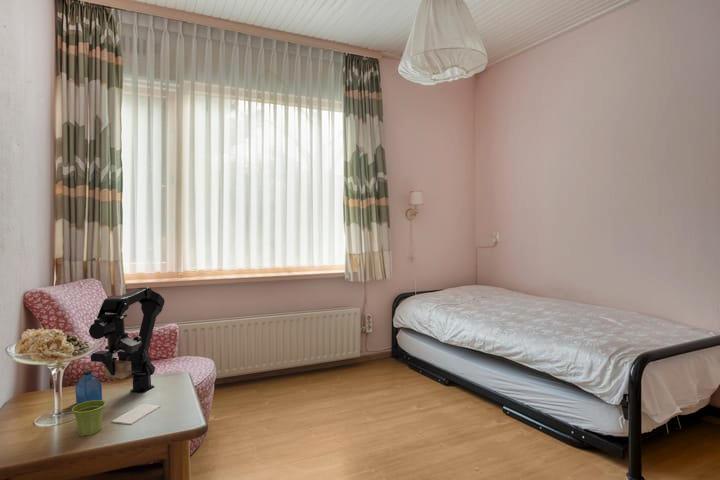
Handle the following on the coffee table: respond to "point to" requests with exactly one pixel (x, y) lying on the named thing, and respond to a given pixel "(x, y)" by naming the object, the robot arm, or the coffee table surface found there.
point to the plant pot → (89, 416)
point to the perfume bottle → (88, 388)
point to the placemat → (136, 414)
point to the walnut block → (120, 369)
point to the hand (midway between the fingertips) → (118, 372)
